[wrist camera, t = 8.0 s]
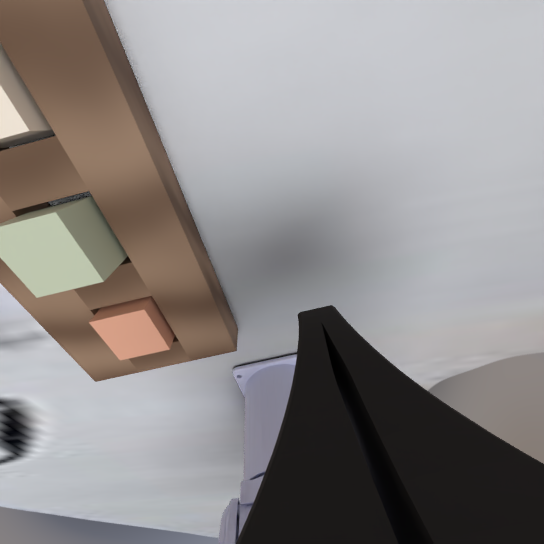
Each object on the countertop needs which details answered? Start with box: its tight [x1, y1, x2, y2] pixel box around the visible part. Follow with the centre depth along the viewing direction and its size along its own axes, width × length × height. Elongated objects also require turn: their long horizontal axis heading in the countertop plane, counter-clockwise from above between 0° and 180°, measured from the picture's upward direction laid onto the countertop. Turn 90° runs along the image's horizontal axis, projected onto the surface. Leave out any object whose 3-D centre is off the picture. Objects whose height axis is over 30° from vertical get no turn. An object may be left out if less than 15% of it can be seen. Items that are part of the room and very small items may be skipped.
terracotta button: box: [89, 296, 175, 360], centre depth 18 cm, size 4×4×3 cm
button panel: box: [0, 0, 238, 382], centre depth 15 cm, size 23×12×2 cm, turn 13°
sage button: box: [0, 196, 128, 298], centre depth 13 cm, size 4×4×3 cm
